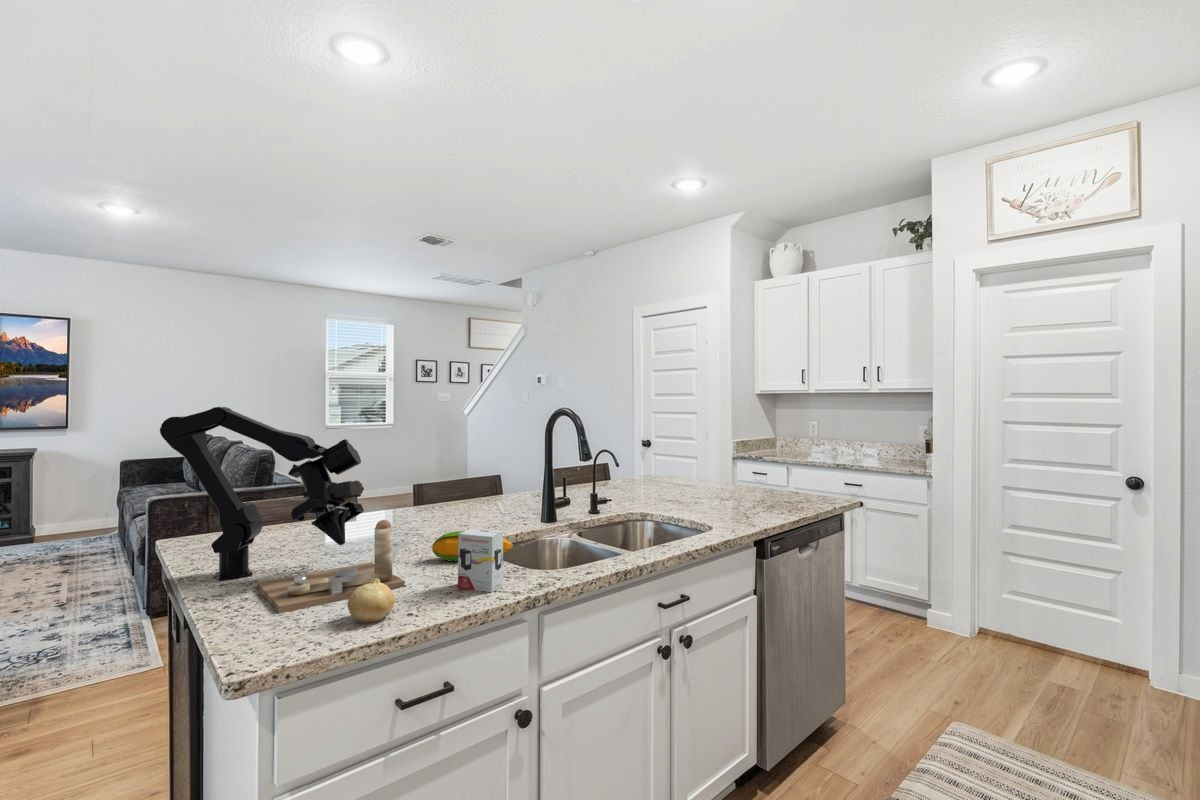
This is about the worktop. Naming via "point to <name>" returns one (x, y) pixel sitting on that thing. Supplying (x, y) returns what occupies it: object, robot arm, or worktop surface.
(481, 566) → the ink box
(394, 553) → the adjustable wrench
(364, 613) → the onion
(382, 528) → the wooden crank lever
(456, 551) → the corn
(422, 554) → the worktop surface
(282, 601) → the walnut board
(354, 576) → the keeper
